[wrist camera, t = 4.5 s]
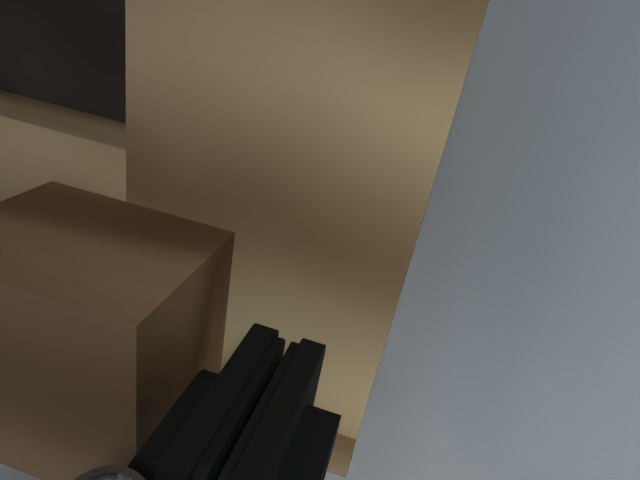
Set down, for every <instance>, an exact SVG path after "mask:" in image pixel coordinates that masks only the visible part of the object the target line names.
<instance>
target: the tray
mask: <svg viewBox="0 0 640 480" xmlns="http://www.w3.org/2000/svg"><path fill="white" fill-rule="evenodd" d="M488 2H489V0H0V201H3V200H5V199H8V198H10V197H13V196H15V195H18V194H20V193H23V192H25V191H28V190H30V189H33V188H35V187H38V186H40V185H43V184H45V183H48V182H50V181H54V182H58V183H61V184H65V185H68V186H72V187H76V188H79V189H83V190H86V191H90V192H93V193H97V194H100V195H104V196H107V197H111V198H115V199H118V200H122V201H125V202H129V203H132V204H136V205H139V206H143V207H147V208H150V209H154V210H157V211H161V212H164V213H168V214H171V215H175V216H179V217H182V218H186V219H189V220H193V221H196V222H200V223H203V224H207V225H210V226H214V227H217V228H221V229H224V230H228V231H231V232H235V237H234V247H233V256H232V266H231V276H230V285H229V295H228V305H227V314H226V324H225V334H224V344H223V353H222V363H221V370H222V368H223V367H224V366H225V364H226V363H227V361H228V360H229V358H230V357H231V355H232V354H233V353H234V351H235V350H236V348H237V347H238V345H239V344H240V343H241V341H242V340H243V338H244V337H245V335H246V334H247V332H248V331H249V330H250V328H251V327H252V325H253V324H254V323H257V324H261V325H264V326H267V327H270V328H273V329H277V330H278V331H279V337H280V338H283V339H285V348H284V354H285V352H286V350H287V348H288V346H289V345H290V343H291V342H292V341H293V342H296V343H300V341H301V339H302V338H305V339H309V340H312V341H315V342H318V343H321V344H325V345H326V351H325V355H324V360H323V364H322V369H321V373H320V378H319V382H318V387H317V391H316V396H315V400H314V405H313V406H315V407H318V408H321V409H324V410H327V411H330V412H333V413H336V414H339V415H341V420H340V424H339V428H338V431H337V435H336V439H335V443H334V446H333V450H332V454H331V457H330V461H329V464H328V468H327V471H329V472H332V473H335V474H337V475H340V476H343V477H346V475H347V471H348V468H349V465H350V461H351V458H352V454H353V450H354V447H355V443H356V439H357V436H358V432H359V429H360V426H361V422H362V419H363V416H364V412H365V409H366V406H367V402H368V399H369V396H370V392H371V389H372V386H373V383H374V379H375V376H376V373H377V369H378V366H379V363H380V359H381V356H382V353H383V349H384V346H385V343H386V339H387V336H388V333H389V330H390V326H391V323H392V320H393V316H394V313H395V310H396V306H397V303H398V300H399V296H400V293H401V290H402V286H403V283H404V280H405V277H406V273H407V270H408V267H409V263H410V260H411V257H412V253H413V250H414V247H415V243H416V240H417V237H418V233H419V230H420V227H421V224H422V220H423V217H424V214H425V210H426V207H427V204H428V200H429V197H430V194H431V190H432V187H433V184H434V180H435V177H436V174H437V171H438V167H439V164H440V161H441V157H442V154H443V151H444V147H445V144H446V141H447V137H448V134H449V131H450V127H451V124H452V121H453V118H454V114H455V111H456V108H457V104H458V101H459V98H460V94H461V91H462V88H463V84H464V81H465V78H466V74H467V71H468V68H469V65H470V61H471V58H472V55H473V51H474V48H475V45H476V41H477V38H478V35H479V31H480V28H481V25H482V21H483V18H484V15H485V11H486V8H487V5H488ZM284 354H283V356H284Z"/></svg>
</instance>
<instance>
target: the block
mask: <svg viewBox="0 0 640 480" xmlns="http://www.w3.org/2000/svg"><path fill="white" fill-rule="evenodd" d="M234 237H235V232H231V231H228V230H224V229H221V228H217V227H214V226H210V225H207V224H203V223H200V222H196V221H193V220H189V219H186V218H182V217H179V216H175V215H171V214H168V213H164V212H161V211H157V210H154V209H150V208H147V207H143V206H139V205H136V204H132V203H129V202H125V201H122V200H118V199H115V198H111V197H107V196H104V195H100V194H97V193H93V192H90V191H86V190H83V189H79V188H76V187H72V186H68V185H65V184H61V183H58V182H54V181H50V182H48V183H45V184H43V185H40V186H38V187H35V188H33V189H30V190H28V191H25V192H23V193H20V194H18V195H15V196H13V197H10V198H8V199H5V200H3V201H0V463H2V464H5V465H7V466H10V467H12V468H15V469H18V470H20V471H23V472H25V473H28V474H30V475H33V476H35V477H38V478H41V479H43V480H75V479H76V478H77V477H79V476H80V475H82V474H83V473H86V472H88V471H90V470H92V469H95V468H98V467H103V466H108V465H117V466H125V467H127V466H128V465H129V463H130V462H131V461H132V459H133V458H134V457H135V455H136V454H137V453H138V452H139V450H140V449H141V448H142V446H143V445H144V444H145V442H146V441H147V440H148V438H149V437H150V436H151V434H152V433H153V432H154V430H155V429H156V428H157V426H158V425H159V424H160V422H161V421H162V420H163V418H164V417H165V416H166V414H167V413H168V412H169V410H170V409H171V408H172V406H173V405H174V404H175V403H176V401H177V400H178V399H179V397H180V396H181V395H182V393H183V392H184V391H185V389H186V388H187V387H188V385H189V384H190V383H191V381H192V380H193V379H194V377H195V376H196V375H197V374H198V373H199V372H200V371H201V370H203V369H205V370H208V371H211V372H214V373H217V374H219V373H220V371H221V363H222V353H223V344H224V334H225V324H226V314H227V305H228V295H229V285H230V276H231V266H232V256H233V247H234Z"/></svg>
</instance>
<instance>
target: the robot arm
mask: <svg viewBox="0 0 640 480" xmlns="http://www.w3.org/2000/svg"><path fill="white" fill-rule="evenodd" d="M284 348H285V339H283V338H280V337H279V331H278V330H277V329H273V328H270V327H267V326H264V325H261V324H257V323H254V324H253V325H252V327H251V328H250V330H249V331H248V332H247V334H246V335H245V337H244V338H243V340H242V341H241V343H240V344H239V345H238V347H237V348H236V350H235V351H234V353H233V354H232V355H231V357H230V358H229V360H228V361H227V363H226V364H225V366H224V367H223V368H222V370H221V371H220V373H219V374H217V373H214V372H211V371H208V370H205V369H203V370H201V371H200V372H199V373H198V374H197V375H196V376H195V377H194V379H193V380H192V381H191V383H190V384H189V385H188V387H187V388H186V389H185V391H184V392H183V393H182V395H181V396H180V397H179V399H178V400H177V401H176V403H175V404H174V405H173V406H172V408H171V409H170V410H169V412H168V413H167V414H166V416H165V417H164V418H163V420H162V421H161V422H160V424H159V425H158V426H157V428H156V429H155V430H154V432H153V433H152V434H151V436H150V437H149V438H148V440H147V441H146V442H145V444H144V445H143V446H142V448H141V449H140V450H139V452H138V453H137V454H136V455H135V457H134V458H133V459H132V461H131V462H130V463H129V465H128V466H127V467H125V466H117V465H108V466H103V467H98V468H95V469H92V470H90V471H88V472H86V473H83V474H82V475H80V476H79V477H77V478H76V479H75V480H324V478H325V474H326V471H327V468H328V464H329V461H330V457H331V454H332V450H333V446H334V443H335V439H336V435H337V431H338V428H339V424H340V420H341V415H339V414H336V413H333V412H330V411H327V410H324V409H321V408H318V407H315V406H313V405H314V400H315V396H316V391H317V387H318V382H319V378H320V373H321V369H322V364H323V360H324V355H325V351H326V345H325V344H321V343H318V342H315V341H312V340H309V339H305V338H302V339H301V341H300V343H296V342H293V341H292V342H291V343H290V345H289V346H288V348H287V350H286V352H285V354H284ZM283 354H284V356H283Z"/></svg>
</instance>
